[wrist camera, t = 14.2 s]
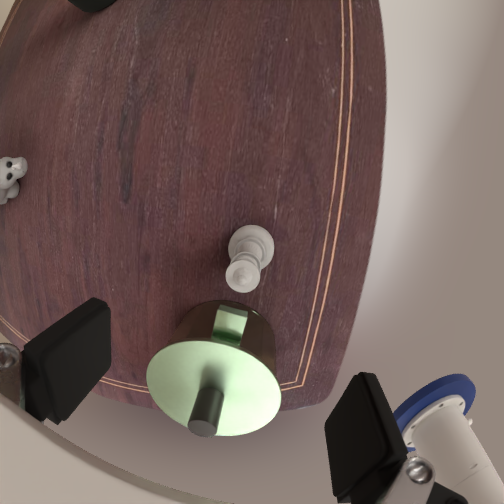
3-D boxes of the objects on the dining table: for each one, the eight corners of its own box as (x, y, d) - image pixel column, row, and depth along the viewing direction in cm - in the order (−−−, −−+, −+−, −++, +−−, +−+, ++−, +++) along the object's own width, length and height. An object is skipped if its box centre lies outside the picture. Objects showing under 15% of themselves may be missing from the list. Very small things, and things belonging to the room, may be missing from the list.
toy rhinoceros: (45, 192, 27) (-2, 199, 19) (4, 207, 28) (-35, 216, 20) (43, 141, 26) (-3, 138, 17) (1, 163, 27) (-37, 166, 18)
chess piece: (273, 223, 26) (274, 247, 17) (274, 267, 28) (276, 311, 18) (228, 225, 27) (204, 249, 17) (231, 268, 28) (211, 311, 18)
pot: (295, 292, 28) (304, 335, 20) (255, 401, 32) (250, 450, 24) (190, 264, 28) (159, 296, 20) (172, 379, 32) (151, 423, 24)
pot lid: (300, 354, 21) (306, 396, 16) (260, 437, 24) (257, 474, 19) (154, 315, 21) (127, 347, 16) (149, 407, 24) (132, 440, 19)
